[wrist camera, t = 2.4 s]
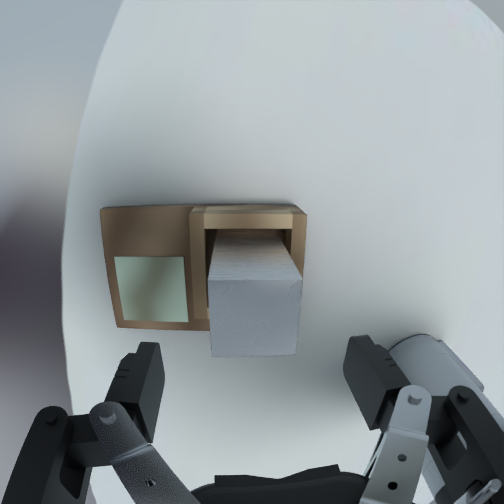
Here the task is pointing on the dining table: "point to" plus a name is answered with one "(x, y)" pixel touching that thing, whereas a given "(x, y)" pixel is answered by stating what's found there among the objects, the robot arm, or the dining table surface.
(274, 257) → the block
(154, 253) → the brown compartment tray
